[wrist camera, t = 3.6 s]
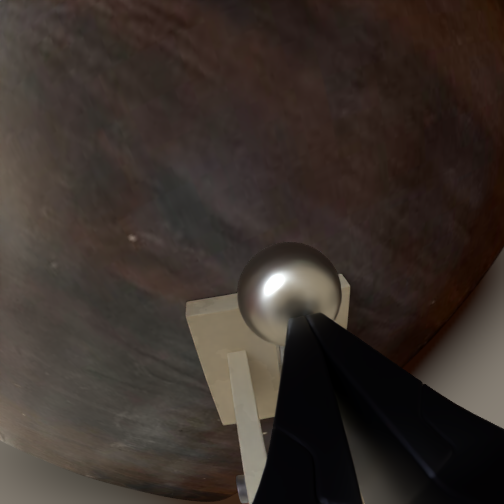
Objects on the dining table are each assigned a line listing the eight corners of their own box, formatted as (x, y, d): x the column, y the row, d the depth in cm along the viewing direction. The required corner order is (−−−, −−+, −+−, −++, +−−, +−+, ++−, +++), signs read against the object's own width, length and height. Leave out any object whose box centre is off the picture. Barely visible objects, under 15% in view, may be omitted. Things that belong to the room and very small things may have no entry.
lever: (227, 242, 10) (231, 268, 7) (318, 226, 10) (355, 246, 8) (271, 476, 13) (281, 522, 10) (329, 462, 13) (347, 506, 10)
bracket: (186, 301, 16) (187, 495, 7) (341, 273, 16) (441, 430, 8) (221, 411, 21) (238, 541, 12) (332, 389, 21) (379, 508, 13)
